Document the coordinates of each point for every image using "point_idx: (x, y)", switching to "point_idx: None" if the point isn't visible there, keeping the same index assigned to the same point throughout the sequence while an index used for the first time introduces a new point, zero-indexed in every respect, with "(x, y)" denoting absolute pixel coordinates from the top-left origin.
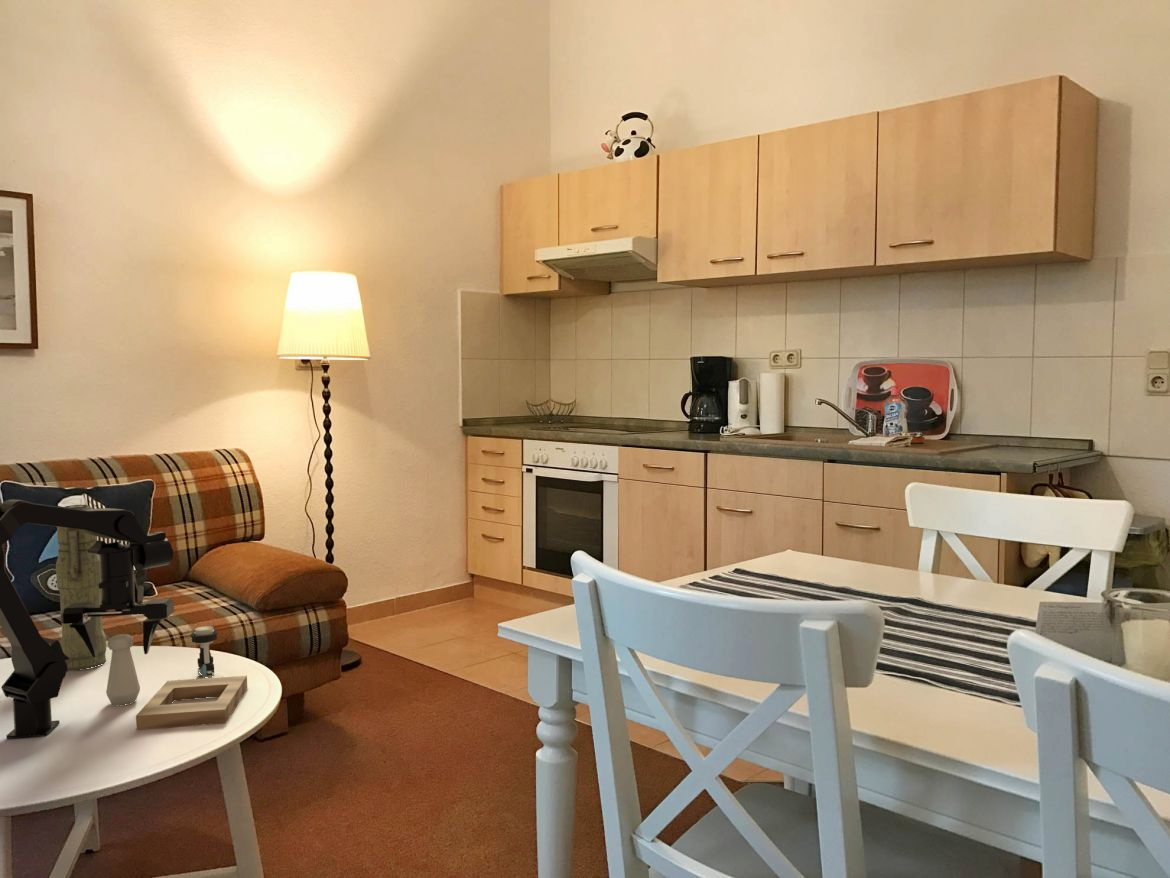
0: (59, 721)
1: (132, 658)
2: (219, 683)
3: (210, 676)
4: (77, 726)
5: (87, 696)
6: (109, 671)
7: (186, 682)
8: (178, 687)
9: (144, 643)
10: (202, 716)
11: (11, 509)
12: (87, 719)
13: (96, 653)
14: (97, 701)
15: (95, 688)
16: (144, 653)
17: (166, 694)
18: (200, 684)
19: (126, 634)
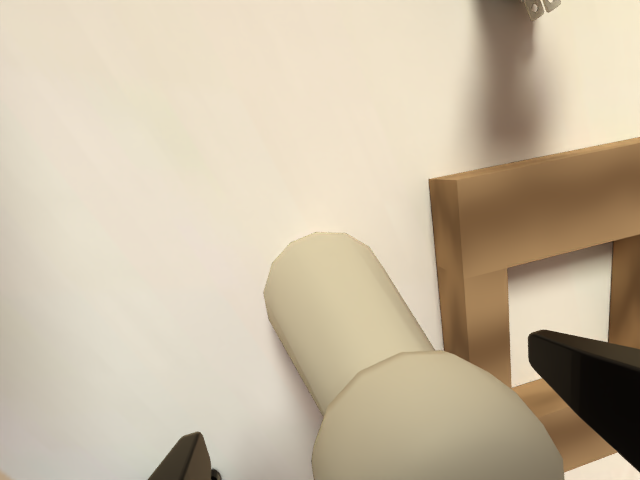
0: (216, 476)
1: (429, 342)
2: (637, 219)
3: (536, 3)
4: (285, 472)
5: (119, 205)
6: (293, 362)
7: (532, 206)
8: (520, 264)
9: (631, 455)
10: None
11: None
12: (282, 423)
13: (201, 460)
14: (207, 265)
15: (76, 89)
16: (534, 368)
17: (503, 335)
18: (582, 230)
19: (514, 466)
